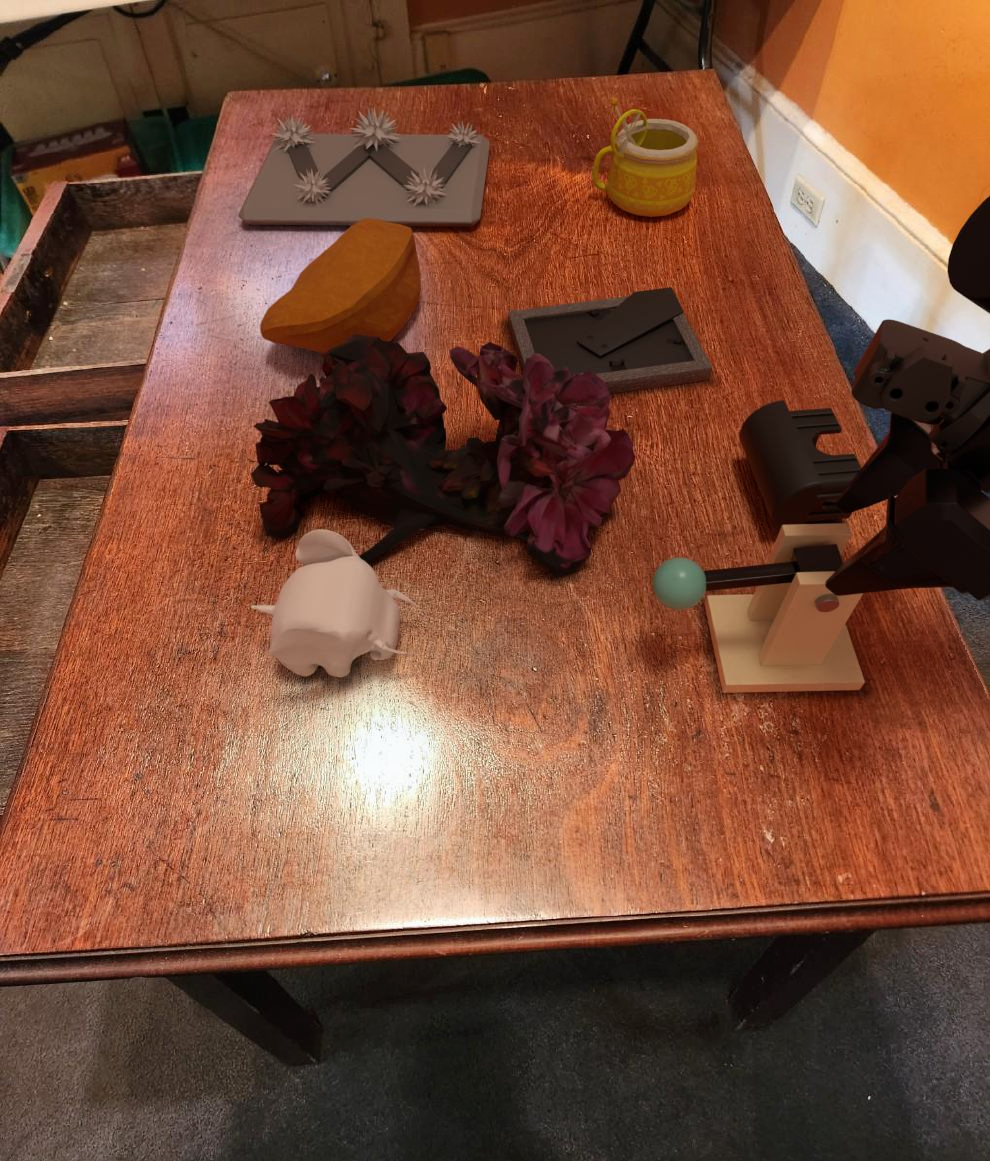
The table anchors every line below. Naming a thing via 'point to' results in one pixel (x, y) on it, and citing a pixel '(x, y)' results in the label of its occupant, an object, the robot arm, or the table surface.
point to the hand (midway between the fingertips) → (835, 546)
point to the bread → (350, 290)
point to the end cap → (796, 464)
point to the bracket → (787, 626)
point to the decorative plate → (369, 177)
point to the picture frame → (615, 340)
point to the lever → (735, 575)
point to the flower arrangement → (447, 477)
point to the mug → (649, 165)
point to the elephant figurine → (332, 610)
